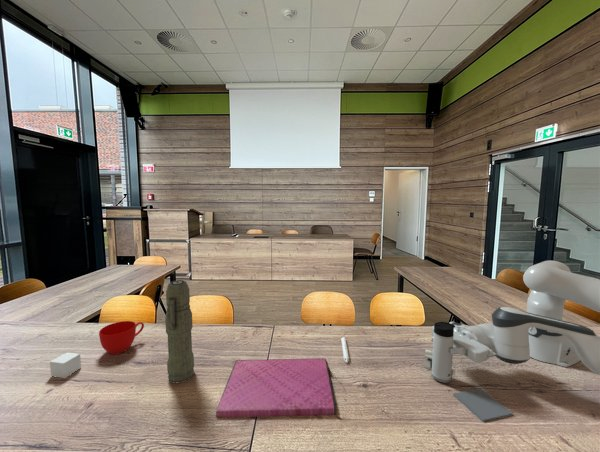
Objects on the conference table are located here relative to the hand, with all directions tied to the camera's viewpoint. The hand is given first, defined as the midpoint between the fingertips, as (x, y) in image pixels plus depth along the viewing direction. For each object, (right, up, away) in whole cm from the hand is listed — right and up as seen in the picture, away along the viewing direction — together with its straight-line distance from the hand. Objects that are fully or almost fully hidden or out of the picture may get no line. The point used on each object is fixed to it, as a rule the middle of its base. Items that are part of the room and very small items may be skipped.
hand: (441, 345), depth 95 cm
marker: (-31, -11, +18) cm, 38 cm away
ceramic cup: (-127, -11, +21) cm, 129 cm away
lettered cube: (+1, -12, +9) cm, 15 cm away
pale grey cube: (-137, -12, +4) cm, 138 cm away
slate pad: (+7, -14, -11) cm, 19 cm away
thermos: (-94, -13, +3) cm, 95 cm away
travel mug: (+1, -12, +1) cm, 12 cm away
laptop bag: (-56, -14, -2) cm, 57 cm away
